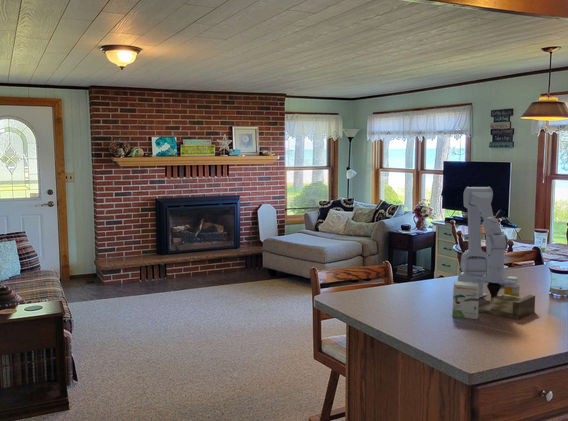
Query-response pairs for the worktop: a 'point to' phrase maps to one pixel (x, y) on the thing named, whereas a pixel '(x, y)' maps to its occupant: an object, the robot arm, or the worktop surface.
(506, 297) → the beige square tray
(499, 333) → the worktop surface
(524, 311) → the base
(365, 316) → the worktop surface
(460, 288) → the ink box
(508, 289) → the supplement bottle
